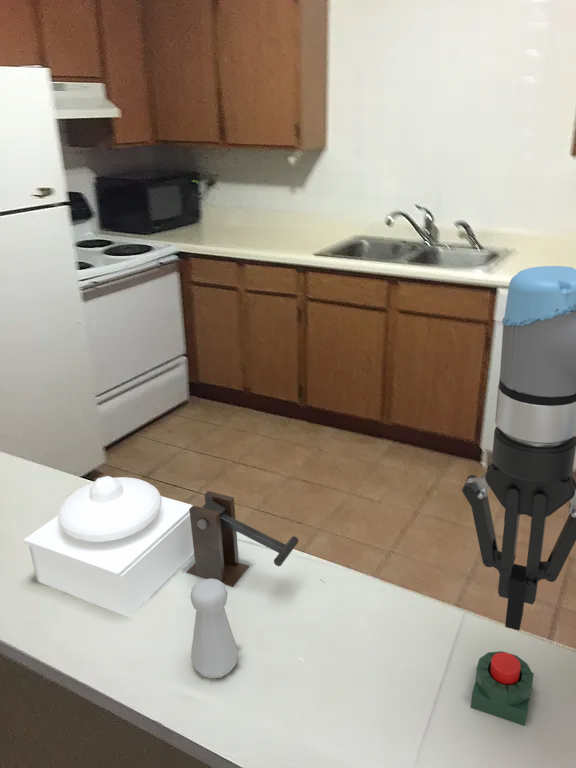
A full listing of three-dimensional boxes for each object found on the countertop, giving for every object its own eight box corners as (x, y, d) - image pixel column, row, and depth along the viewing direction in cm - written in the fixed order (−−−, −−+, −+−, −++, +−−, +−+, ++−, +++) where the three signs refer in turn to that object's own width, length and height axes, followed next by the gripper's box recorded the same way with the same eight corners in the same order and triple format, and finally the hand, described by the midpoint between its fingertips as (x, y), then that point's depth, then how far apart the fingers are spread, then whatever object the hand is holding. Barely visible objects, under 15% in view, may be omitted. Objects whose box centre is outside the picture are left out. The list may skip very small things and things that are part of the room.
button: (521, 668, 78) (522, 657, 77) (516, 689, 75) (518, 677, 74) (492, 660, 79) (494, 648, 78) (487, 680, 76) (489, 668, 76)
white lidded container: (202, 551, 105) (193, 463, 99) (127, 626, 91) (111, 529, 85) (116, 523, 113) (102, 440, 107) (34, 589, 99) (13, 497, 92)
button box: (532, 686, 80) (536, 661, 78) (525, 726, 75) (529, 700, 73) (480, 669, 82) (482, 645, 81) (469, 708, 77) (472, 682, 76)
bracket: (251, 570, 101) (246, 498, 96) (231, 595, 96) (225, 520, 91) (206, 556, 104) (199, 486, 99) (185, 580, 99) (176, 507, 94)
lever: (296, 547, 95) (300, 535, 94) (279, 571, 90) (283, 558, 89) (213, 505, 99) (215, 493, 98) (193, 526, 94) (195, 513, 93)
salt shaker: (185, 682, 82) (174, 598, 77) (204, 647, 87) (195, 567, 82) (229, 692, 80) (221, 607, 75) (246, 656, 85) (239, 575, 80)
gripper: (611, 423, 65) (580, 614, 74) (474, 404, 70) (461, 584, 79) (608, 459, 59) (575, 663, 68) (458, 435, 64) (446, 626, 73)
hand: (514, 620), depth 74 cm, fingers closed
